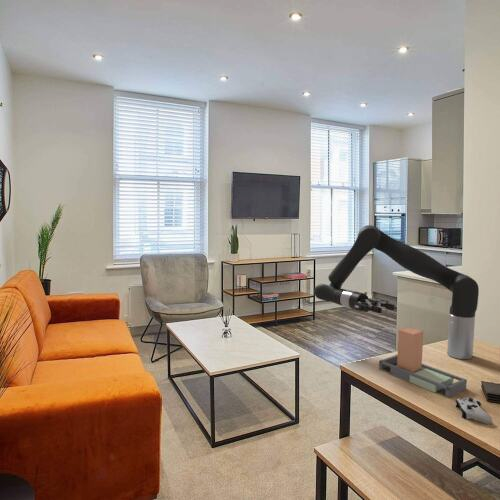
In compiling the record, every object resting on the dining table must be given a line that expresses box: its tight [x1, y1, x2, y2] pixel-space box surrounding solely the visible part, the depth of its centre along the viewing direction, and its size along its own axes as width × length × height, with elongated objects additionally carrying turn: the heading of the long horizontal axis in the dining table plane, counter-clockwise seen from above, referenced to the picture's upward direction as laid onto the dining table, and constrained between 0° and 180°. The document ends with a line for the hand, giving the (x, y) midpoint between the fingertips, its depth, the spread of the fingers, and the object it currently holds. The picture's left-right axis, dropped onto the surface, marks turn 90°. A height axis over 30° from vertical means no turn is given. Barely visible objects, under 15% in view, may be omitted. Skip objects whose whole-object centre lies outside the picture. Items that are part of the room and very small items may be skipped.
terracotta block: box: [397, 326, 424, 372], centre depth 145 cm, size 6×6×14 cm
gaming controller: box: [455, 397, 493, 425], centre depth 119 cm, size 11×6×7 cm
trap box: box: [378, 354, 468, 399], centre depth 142 cm, size 11×27×3 cm, turn 34°
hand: (387, 309), depth 152 cm, fingers open, 7 cm apart
